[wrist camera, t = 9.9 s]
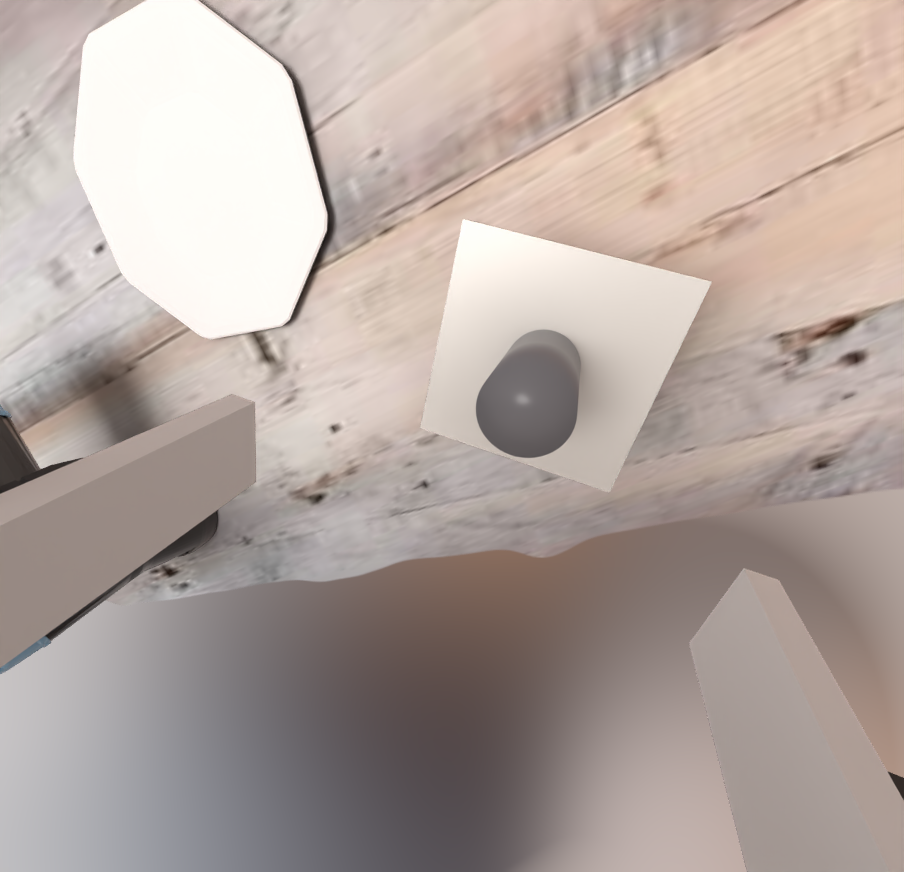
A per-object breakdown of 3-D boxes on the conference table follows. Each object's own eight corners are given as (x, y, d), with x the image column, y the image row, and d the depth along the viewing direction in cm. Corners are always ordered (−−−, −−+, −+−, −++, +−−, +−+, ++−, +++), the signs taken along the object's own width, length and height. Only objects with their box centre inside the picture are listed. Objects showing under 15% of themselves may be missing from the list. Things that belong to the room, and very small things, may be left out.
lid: (425, 422, 28) (369, 484, 21) (468, 219, 22) (410, 210, 15) (608, 484, 26) (615, 575, 19) (706, 279, 20) (768, 300, 13)
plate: (267, -50, 28) (252, -65, 27) (361, 310, 37) (352, 313, 35) (48, 73, 36) (28, 67, 35) (167, 346, 45) (154, 349, 43)
